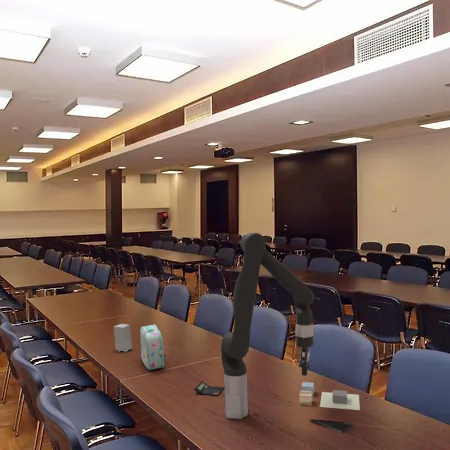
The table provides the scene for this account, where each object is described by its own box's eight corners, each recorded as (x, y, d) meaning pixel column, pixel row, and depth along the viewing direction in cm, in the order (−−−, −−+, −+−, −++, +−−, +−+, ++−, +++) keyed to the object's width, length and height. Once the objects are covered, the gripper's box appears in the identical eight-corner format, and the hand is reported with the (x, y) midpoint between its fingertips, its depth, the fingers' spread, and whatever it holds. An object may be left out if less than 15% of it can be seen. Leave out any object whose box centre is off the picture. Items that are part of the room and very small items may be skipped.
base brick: (347, 404, 193) (347, 396, 193) (332, 402, 194) (332, 395, 194) (347, 398, 199) (347, 391, 198) (333, 397, 200) (332, 390, 200)
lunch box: (167, 371, 242) (166, 330, 241) (148, 373, 238) (146, 333, 238) (157, 356, 267) (155, 320, 266) (139, 359, 263) (138, 322, 263)
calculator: (218, 397, 207) (218, 390, 206) (194, 394, 210) (194, 388, 210) (224, 389, 216) (224, 382, 215) (201, 387, 219) (201, 380, 219)
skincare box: (132, 350, 281) (131, 324, 281) (124, 353, 275) (123, 327, 275) (122, 348, 286) (121, 323, 285) (114, 351, 280) (113, 325, 279)
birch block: (311, 407, 192) (311, 396, 192) (299, 406, 193) (299, 395, 193) (312, 402, 197) (312, 391, 197) (300, 401, 198) (300, 390, 198)
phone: (320, 413, 185) (353, 424, 174) (320, 415, 185) (353, 427, 174) (309, 419, 179) (343, 431, 169) (309, 422, 179) (343, 434, 169)
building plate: (359, 411, 187) (359, 410, 187) (319, 408, 191) (319, 406, 191) (358, 396, 202) (358, 394, 202) (322, 393, 206) (321, 391, 206)
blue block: (313, 398, 202) (313, 387, 202) (301, 397, 203) (301, 386, 203) (314, 393, 207) (313, 382, 207) (302, 392, 208) (302, 382, 208)
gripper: (297, 329, 202) (298, 365, 203) (293, 338, 189) (294, 377, 189) (314, 330, 200) (315, 366, 201) (312, 339, 187) (313, 378, 187)
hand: (305, 371), depth 195 cm, fingers open, 8 cm apart
